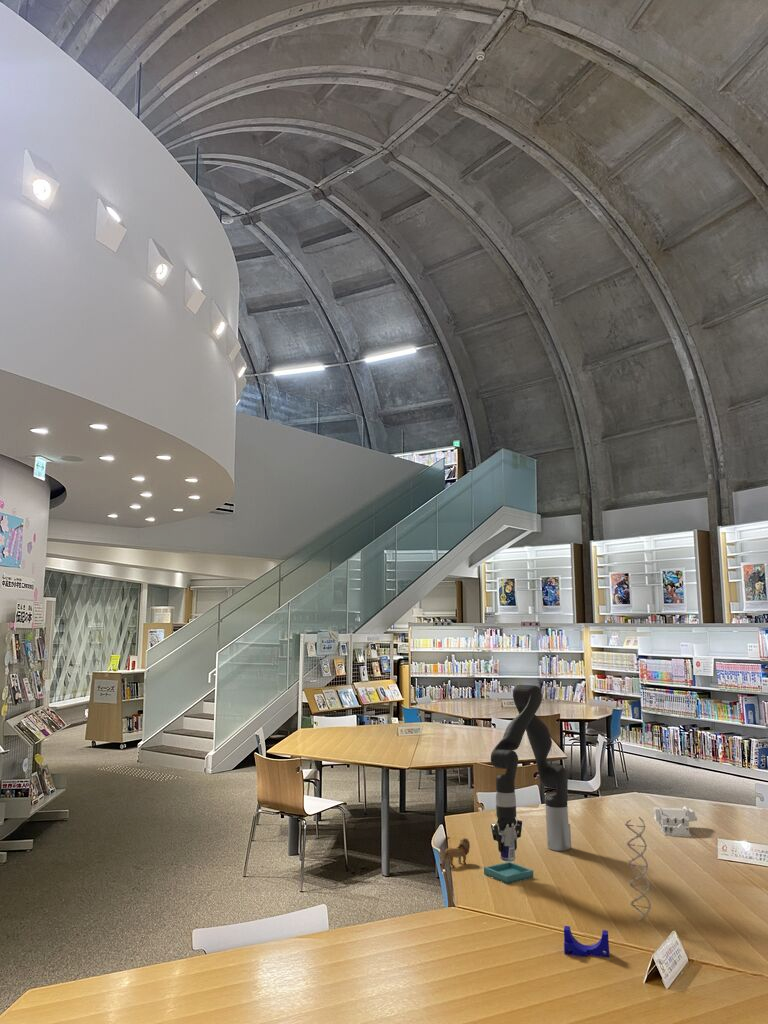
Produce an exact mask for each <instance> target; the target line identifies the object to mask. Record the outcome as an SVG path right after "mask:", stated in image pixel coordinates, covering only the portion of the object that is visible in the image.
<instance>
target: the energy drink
mask: <svg viewBox="0 0 768 1024" xmlns="http://www.w3.org/2000/svg"><path fill="white" fill-rule="evenodd" d="M500 833H503V831H501V830H500ZM500 859H501V860H502V861H504V862H514V861H515V860H516V850H515V842H514V827H507V829H506V836H505V838H504V853H500Z"/></svg>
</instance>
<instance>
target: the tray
mask: <svg viewBox="0 0 768 1024" xmlns="http://www.w3.org/2000/svg"><path fill="white" fill-rule="evenodd" d="M483 874H486V875H485V876H487V875H488V876H487V877H489V876H490V878H491V877H493V878H492V879H494V878H495V879H494V880H496V879H497V881H498V880H499V881H498V882H501V881H502V882H501V883H503V882H504V883H503V884H505V885H508V883H509V884H513V883H512V882H514V883H517V882H516V881H518V882H521V881H520V880H522V881H526V880H529V878H530V879H533V877H534V870H533V869H530V868H528V867H525V866H523V865H519V864H517V863H515V862H513V861H505V862H502V863H498V864H492V865H488V866H484V867H483ZM525 879H526V880H525Z"/></svg>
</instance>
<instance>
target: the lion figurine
mask: <svg viewBox="0 0 768 1024" xmlns="http://www.w3.org/2000/svg"><path fill="white" fill-rule="evenodd" d="M459 842H460V843H459V844H458V846H457V847H449V848H446V849H445V851H444V854H443V855H444V856H443V859H442V861H441V862H442V864H441V865H442V868H445V867H446V866H447V865H446V861H447V860H448V859H449V865H450V867H452V866H455V867H456V865H455V864H453V861H454V858H455V859H458V862H459V863H458V864H462V863H463V865H465V864H466V863H467V862H466V860H467V855H468V854H469V852H470V848H471V846H470V845H471V844H470V841H469V839H468V838H466V837H463V838H461V839H459ZM461 859H462V860H463V861H462V860H461ZM461 862H462V863H461Z"/></svg>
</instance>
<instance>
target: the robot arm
mask: <svg viewBox="0 0 768 1024" xmlns="http://www.w3.org/2000/svg"><path fill="white" fill-rule="evenodd" d="M512 700H513V702H514V706H515V708H516V709H517V712H518V715H517V716H515V717H514V718H513V719H512V720H511V721H510V722H509V724H508V725H507V727H506V728H505V732H504V734H503V736H502V738H501V739H500V741H499V742H498V743H497V744H496V746H495V747H494V748H493V750H492V751H491V754H490V763H491V765H492V766H493V768H497V769H506V771H505V773H504V774H502V773H501V774H499V775H497V776H496V778H495V791H496V792H495V793H496V794H495V810H496V811H495V812H496V818H497V821H496V823H492V824H491V825H490V827H491V828H490V829H491V832H492V833H491V835H492V838H493V841H496V842H497V847H498V852H499V853H500V854H501V853H504V838H505V836H506V829H507V827H514V842H515V851H517V847H518V844H517V843H518V842H517V840H518V839H519V838H521V837H522V831H523V830H522V829H523V821H522V820H520V819H517V801H516V800H517V799H516V791H515V790H516V789H515V788H516V787H515V786H516V785H515V780H516V774H517V769H518V766H519V756H518V754H517V752H516V750H518V749H519V747H520V746H521V742H522V740H523V737H524V734H525V732H526V734H527V738H528V742H529V744H530V746H531V747H530V748H531V749H532V753H533V755H534V756H533V757H534V759H535V762H536V763H535V764H536V768H537V771H538V775H539V778H540V782H541V784H542V786H543V787H544V788H547V789H554V790H556V793H555V794H553V795H549V796H547V797H545V800H544V802H545V803H544V804H545V822H546V825H545V826H546V840H547V842H546V843H547V849H549V850H552V851H555V852H556V851H557V852H564V851H565V852H566V851H569V850H570V849H572V835H571V824H570V823H569V811H568V806H569V805H568V801H569V800H568V798H569V794H568V793H569V790H568V788H569V787H568V784H569V783H568V779H569V778H568V772H567V769H566V768H565V767H563V766H556V765H550V764H549V763H548V762H549V761H548V756H549V753H550V751H551V749H552V746H553V741H552V737H551V733H550V730H549V728H548V726H547V725H546V724H545V723H544V722H543V720H541V719H540V717H538V716H537V715H536V713H537V711H538V710H539V708H540V706H541V705H542V701H543V693H542V689H541V688H540V687H539V686H538V685H533V684H532V685H531V684H517V685H515V686H514V687H513V690H512ZM500 830H501V831H503V833H500Z"/></svg>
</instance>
